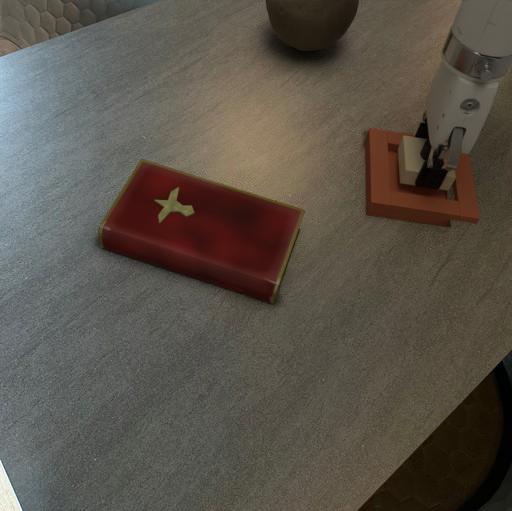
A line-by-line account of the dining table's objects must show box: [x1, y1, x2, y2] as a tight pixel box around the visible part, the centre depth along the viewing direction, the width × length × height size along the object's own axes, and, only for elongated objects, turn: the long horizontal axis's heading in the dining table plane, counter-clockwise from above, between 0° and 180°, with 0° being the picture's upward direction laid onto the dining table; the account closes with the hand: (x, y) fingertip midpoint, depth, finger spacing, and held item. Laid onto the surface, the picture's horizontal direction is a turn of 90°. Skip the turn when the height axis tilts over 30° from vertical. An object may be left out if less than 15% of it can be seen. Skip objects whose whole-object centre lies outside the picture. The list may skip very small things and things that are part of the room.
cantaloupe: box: [265, 0, 360, 52], centre depth 95 cm, size 14×14×15 cm
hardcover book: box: [97, 158, 306, 305], centre depth 73 cm, size 12×21×4 cm, turn 73°
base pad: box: [364, 127, 481, 228], centre depth 84 cm, size 14×14×2 cm
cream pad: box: [398, 136, 456, 192], centre depth 81 cm, size 6×6×4 cm
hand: (425, 165), depth 83 cm, fingers closed on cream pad, 6 cm apart
